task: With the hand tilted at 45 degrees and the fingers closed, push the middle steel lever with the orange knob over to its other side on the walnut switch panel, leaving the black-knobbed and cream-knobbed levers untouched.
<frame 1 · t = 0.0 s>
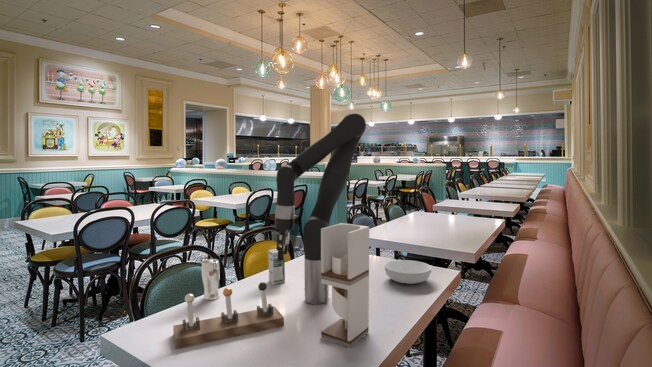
hand: (282, 257, 150), 17 cm above the table, fingers open, 8 cm apart
syrup box: (276, 282, 172), on the table
cream lever: (190, 310, 121), point 8 cm above the table, hinge at -18.0°
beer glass: (211, 297, 153), on the table
orange lever: (228, 304, 126), point 8 cm above the table, hinge at -18.0°
serving bowl: (407, 281, 173), on the table
display case: (345, 336, 122), on the table
switch panel: (230, 330, 125), on the table
black lever: (263, 297, 131), point 8 cm above the table, hinge at -18.0°
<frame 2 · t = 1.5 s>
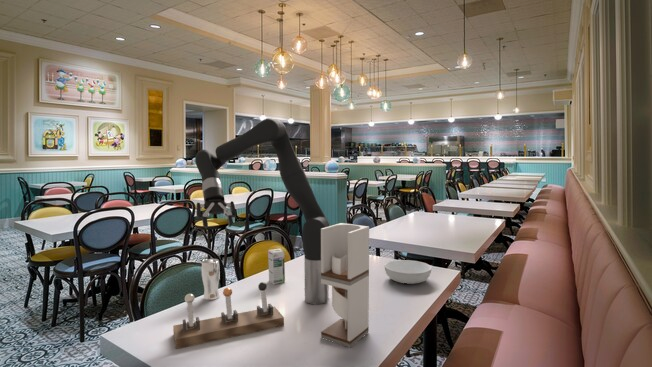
hand: (218, 226, 140), 31 cm above the table, fingers open, 8 cm apart
nothing on the table moved.
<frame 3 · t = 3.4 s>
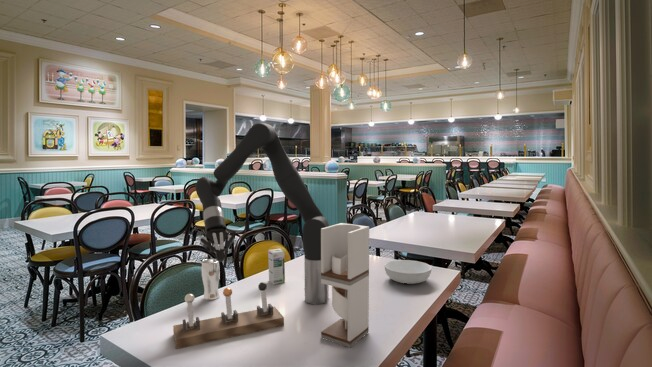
hand: (221, 260, 135), 20 cm above the table, fingers closed
nothing on the table moved.
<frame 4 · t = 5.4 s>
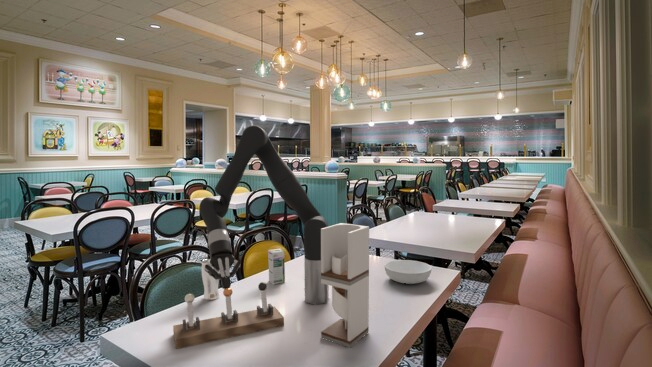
hand: (227, 288, 127), 13 cm above the table, fingers closed
orange lever: (228, 304, 126), point 8 cm above the table, hinge at -15.3°, touching gripper
everything else where it was.
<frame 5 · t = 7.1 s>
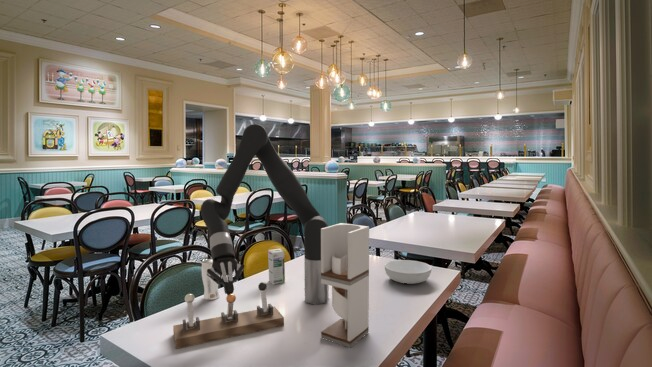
hand: (230, 293, 123), 13 cm above the table, fingers closed
orange lever: (230, 307, 123), point 8 cm above the table, hinge at 21.6°
everything else where it was.
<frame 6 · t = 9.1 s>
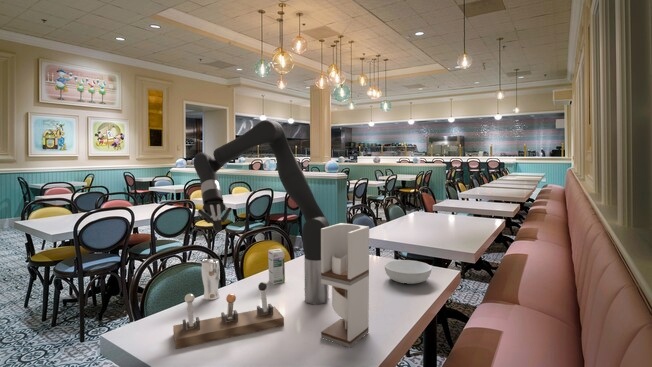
hand: (218, 230, 139), 30 cm above the table, fingers closed
nothing on the table moved.
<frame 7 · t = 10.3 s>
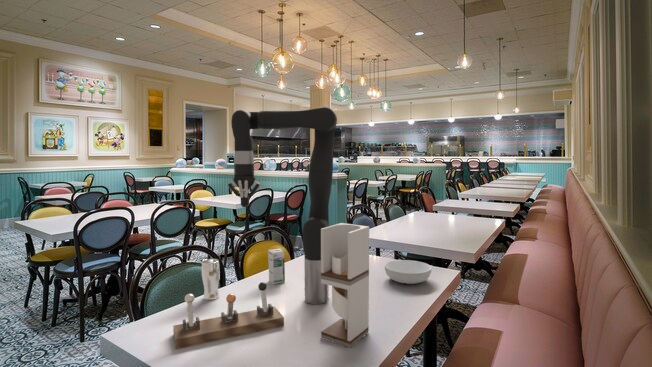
hand: (244, 206, 149), 37 cm above the table, fingers closed
nothing on the table moved.
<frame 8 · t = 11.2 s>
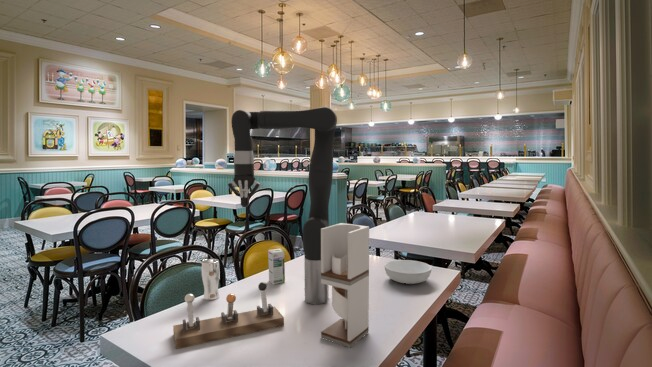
hand: (245, 206, 149), 37 cm above the table, fingers closed
nothing on the table moved.
at the end: orange lever at +22° (first picture: -18°); black lever at -18° (first picture: -18°); cream lever at -18° (first picture: -18°) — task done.
